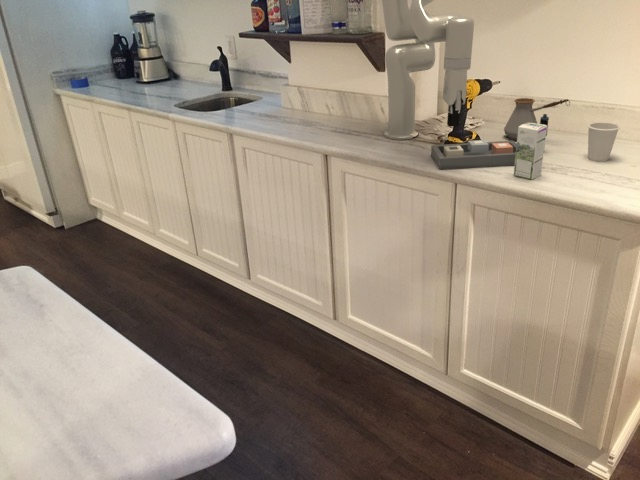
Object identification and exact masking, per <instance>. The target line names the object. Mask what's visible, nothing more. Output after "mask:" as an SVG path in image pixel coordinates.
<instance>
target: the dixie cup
mask: <svg viewBox="0 0 640 480" xmlns="http://www.w3.org/2000/svg"><path fill="white" fill-rule="evenodd" d="M587 127H588V137H587V138H588V139H587V159H588V160H590V161H593V162H608V161H609V160H610V156H611V154H612V150H613V147H614V144H615V141H616V138H617V135H618V131H619V130H620V128H621V126H620V125H619V124H617V123H612V122H606V121H604V122H603V121H600V122H599V121H597V122H592V123H589V124H588V125H587Z"/></svg>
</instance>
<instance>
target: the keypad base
mask: <svg viewBox="0 0 640 480" xmlns="http://www.w3.org/2000/svg"><path fill="white" fill-rule="evenodd" d="M486 142H487V143H488V144H489V148H488V152H482V153H471V152H470V151H469V149H468V142H466V143H465V142H463V143H449V144H433V145H431V146H430V147H431V148H430V157H431V158H432V160H433V161H434V164H435V165H436V166H437V168H438V170H439V171H445V170H446V171H447V170H460V169H463V170H464V169H478V168H495V167H511V166H513V167H515V156H516V146H517V142H516V141H515V140H499V141H498V140H497V141H486ZM492 143H509V144H510V145H512V146H513V153H500V154H494V153H493V152H492V151H491V150H492ZM459 145H460V146H461V148H462V149H463V150H464V152H463V156H450V157H445V155H444V154H443V152H444V146H459Z"/></svg>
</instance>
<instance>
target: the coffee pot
mask: <svg viewBox="0 0 640 480" xmlns="http://www.w3.org/2000/svg"><path fill="white" fill-rule="evenodd" d="M534 102H536V101H535V99H533V98H527V97H524V98H523V97H521V98H515V99H514V103H515V108H514V110H513V111H512V113H511V114H510V117H509V118H508V120H507V122H506V124H505V126H504V128H503V131H504V134H505V135H506V136H507V137H508V138H509V139H510V140H511V141H517V136H518V127H519V126H521V125H522V124H525V123H535V124H538V121H537V117H536V115H535V112H537V111H540V110H542V109H547V108H551V107H552V108H553V107H556V106H558V105H562V104H563V103H565V105H566V106H567V107H568V106H570V105H571V101H570V100H569V99H568V98H567V99H563V100H562V99H560V100H558V101H553V102H550V103H548V104H544V105H542V106H538V107H535V108H533V104H534ZM567 102H568V104H567Z"/></svg>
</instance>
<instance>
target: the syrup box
mask: <svg viewBox="0 0 640 480" xmlns="http://www.w3.org/2000/svg"><path fill="white" fill-rule="evenodd" d="M546 131H547V132H548V128H547V125H542V124H540V123H537V124H535V123H525V124H522V125H521V126H519V127H518V136H517V140H516V144H517V146H516V156H515V166H513V168H514V170H513V176H514V177H518V178H522V179H526V180H531V181H532V180H534V179H536V178H539V177H540V176H541V175H542V173H543V171H542V170H543V161H544V160H543V159H544V153H545V147H546V139H547V138H546V137H547V136H546ZM544 146H545V147H544Z"/></svg>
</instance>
